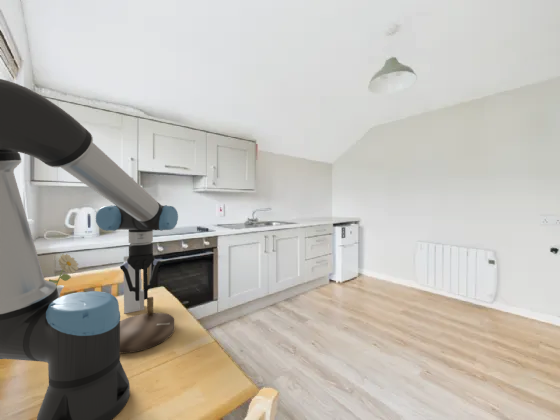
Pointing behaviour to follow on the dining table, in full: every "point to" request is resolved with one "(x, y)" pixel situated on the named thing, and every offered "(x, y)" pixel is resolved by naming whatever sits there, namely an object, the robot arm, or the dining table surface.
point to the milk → (129, 296)
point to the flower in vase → (68, 266)
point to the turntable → (145, 330)
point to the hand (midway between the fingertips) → (141, 308)
